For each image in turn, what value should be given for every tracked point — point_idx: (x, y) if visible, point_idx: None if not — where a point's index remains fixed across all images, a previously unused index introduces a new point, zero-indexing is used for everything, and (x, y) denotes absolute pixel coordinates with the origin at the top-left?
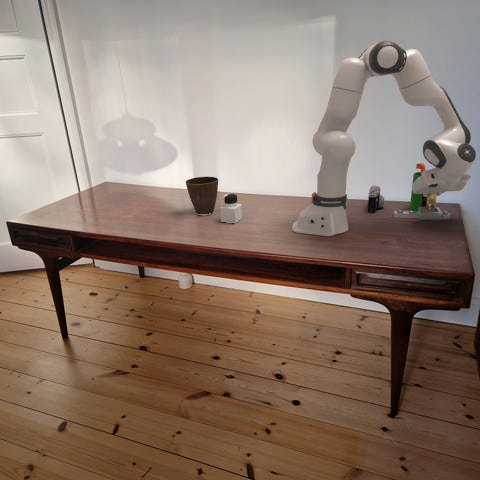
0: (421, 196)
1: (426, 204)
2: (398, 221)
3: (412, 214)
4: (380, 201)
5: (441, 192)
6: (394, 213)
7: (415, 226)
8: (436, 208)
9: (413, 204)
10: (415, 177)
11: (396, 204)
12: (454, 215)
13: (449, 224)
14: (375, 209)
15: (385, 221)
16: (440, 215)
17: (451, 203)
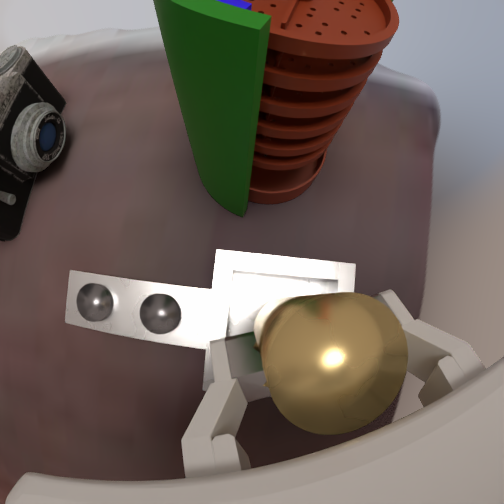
0: (241, 175)
1: (254, 333)
2: (93, 390)
3: (163, 342)
4: (21, 164)
5: (410, 366)
6: (66, 322)
7: (169, 469)
8: (336, 279)
9: (200, 171)
10: (154, 4)
11: (151, 86)
12: (414, 278)
13: (350, 435)
14: (8, 229)
15: (41, 380)
16: None
17: (413, 91)
